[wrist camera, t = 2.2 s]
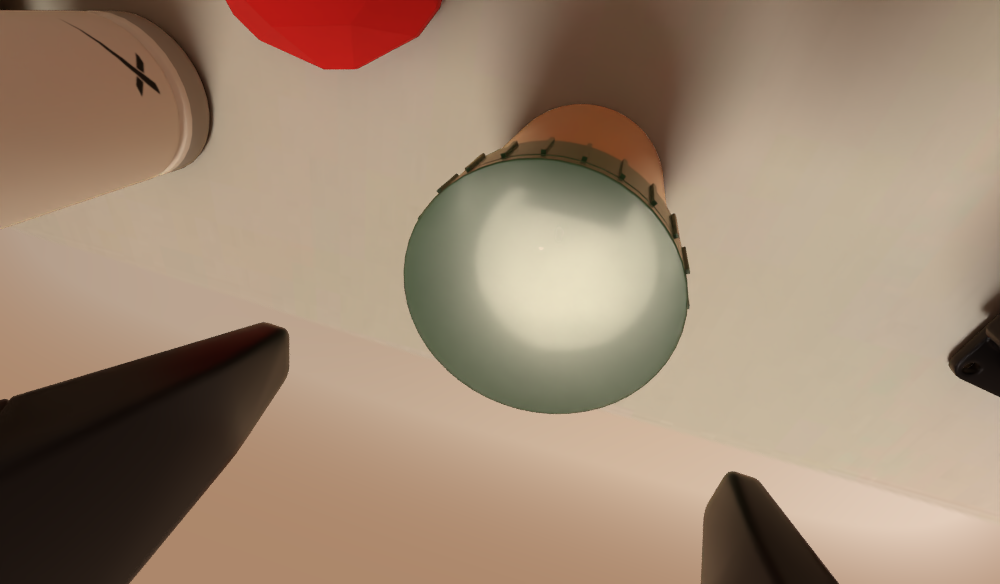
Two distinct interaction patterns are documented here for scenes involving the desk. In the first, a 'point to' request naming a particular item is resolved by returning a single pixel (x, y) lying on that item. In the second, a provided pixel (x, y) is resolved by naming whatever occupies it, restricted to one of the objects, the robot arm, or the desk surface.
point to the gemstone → (335, 27)
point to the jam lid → (548, 277)
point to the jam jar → (599, 136)
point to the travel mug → (90, 108)
